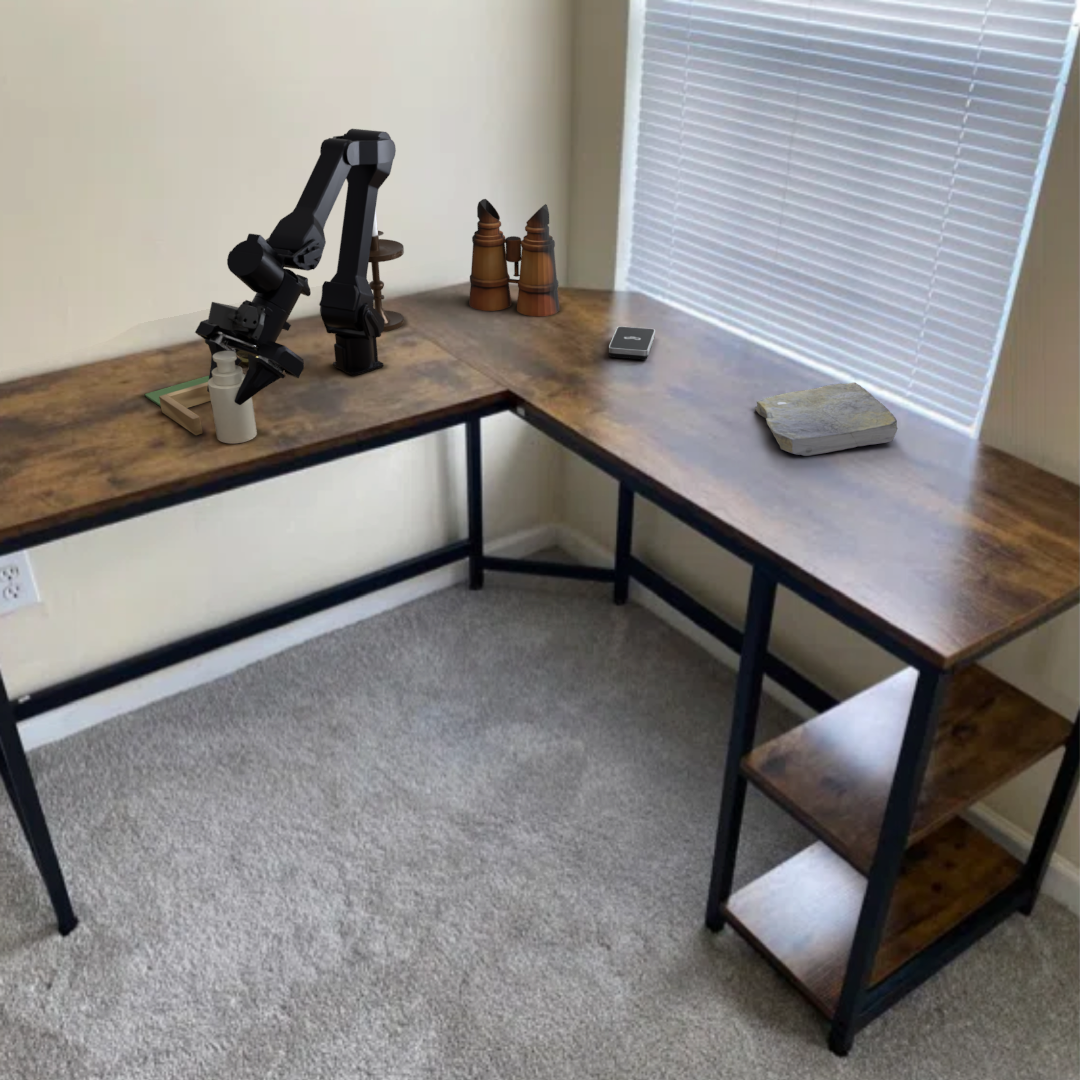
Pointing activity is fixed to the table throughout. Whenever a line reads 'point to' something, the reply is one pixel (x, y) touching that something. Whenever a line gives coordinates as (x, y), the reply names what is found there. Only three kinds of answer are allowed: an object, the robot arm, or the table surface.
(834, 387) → the grey stone slab
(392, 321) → the candlestick
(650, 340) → the external hard drive
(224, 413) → the lidded jar
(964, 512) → the table surface
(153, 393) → the green cloth
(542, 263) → the binoculars
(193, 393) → the corner rails
